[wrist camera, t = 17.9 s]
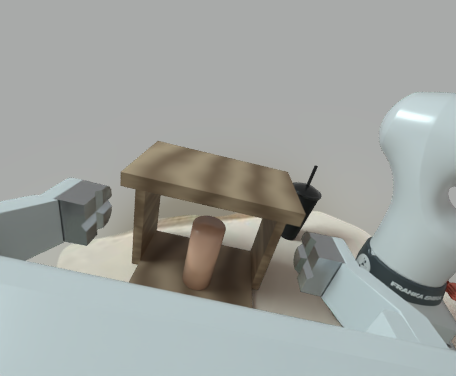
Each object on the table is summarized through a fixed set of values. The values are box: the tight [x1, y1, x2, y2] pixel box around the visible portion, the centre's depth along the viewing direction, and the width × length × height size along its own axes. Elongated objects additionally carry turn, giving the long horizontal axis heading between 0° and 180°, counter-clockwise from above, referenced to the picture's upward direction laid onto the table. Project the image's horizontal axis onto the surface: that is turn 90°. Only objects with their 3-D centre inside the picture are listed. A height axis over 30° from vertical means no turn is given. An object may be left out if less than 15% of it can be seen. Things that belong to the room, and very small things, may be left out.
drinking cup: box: [281, 166, 321, 240], centre depth 58 cm, size 8×8×20 cm
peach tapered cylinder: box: [182, 216, 226, 290], centre depth 39 cm, size 5×5×12 cm
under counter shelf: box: [121, 141, 306, 308], centre depth 41 cm, size 24×14×21 cm, turn 86°
